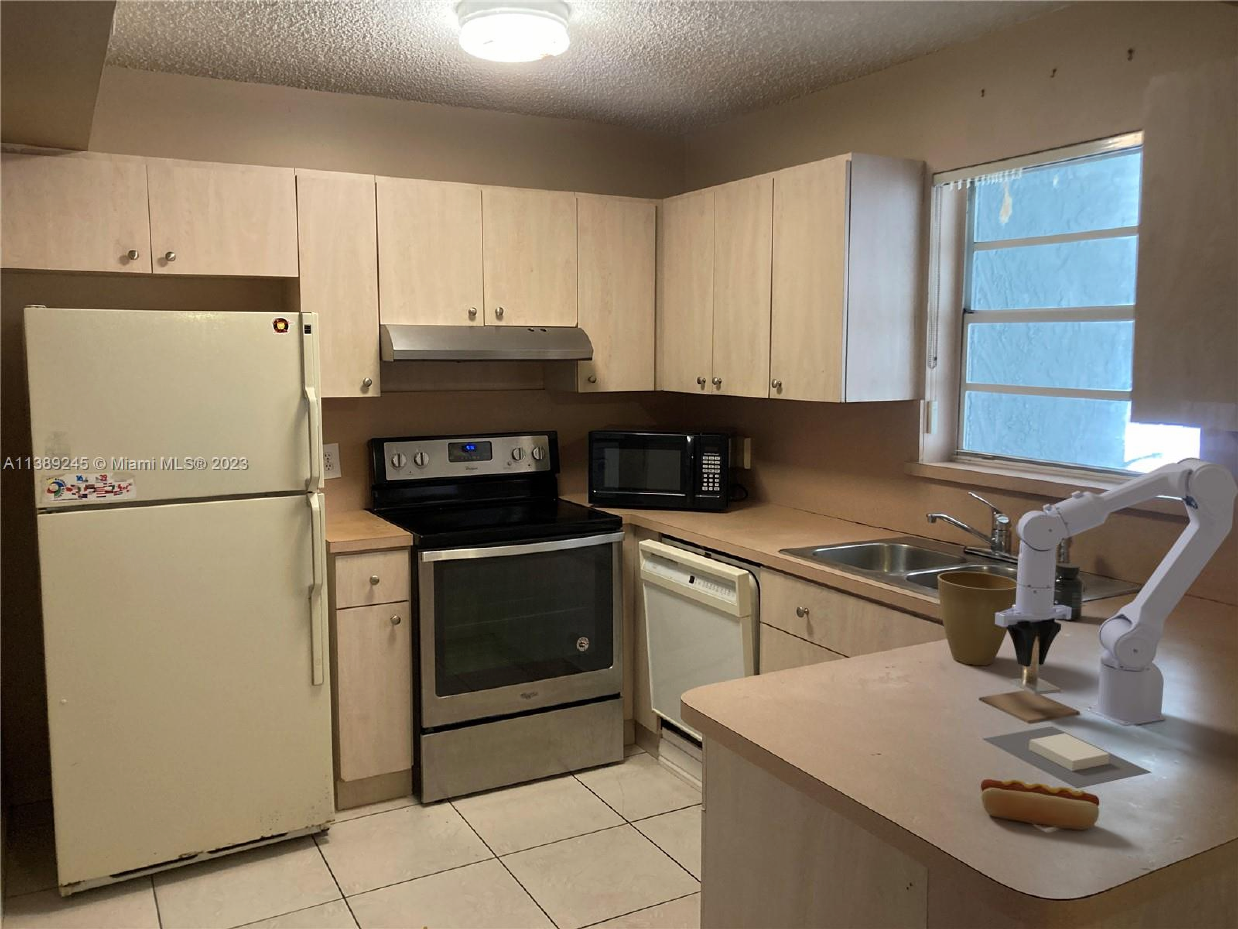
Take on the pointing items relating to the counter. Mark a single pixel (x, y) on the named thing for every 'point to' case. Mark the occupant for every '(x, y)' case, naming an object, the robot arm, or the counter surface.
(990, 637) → the plant pot
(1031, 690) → the stamp with brass handle
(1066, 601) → the supplement bottle
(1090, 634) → the counter surface
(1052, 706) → the board
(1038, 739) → the tile
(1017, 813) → the food
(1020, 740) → the mat
